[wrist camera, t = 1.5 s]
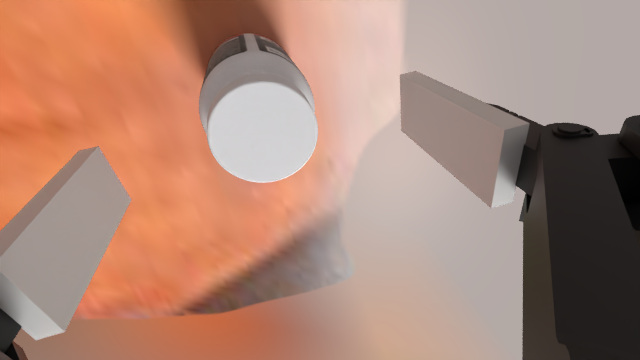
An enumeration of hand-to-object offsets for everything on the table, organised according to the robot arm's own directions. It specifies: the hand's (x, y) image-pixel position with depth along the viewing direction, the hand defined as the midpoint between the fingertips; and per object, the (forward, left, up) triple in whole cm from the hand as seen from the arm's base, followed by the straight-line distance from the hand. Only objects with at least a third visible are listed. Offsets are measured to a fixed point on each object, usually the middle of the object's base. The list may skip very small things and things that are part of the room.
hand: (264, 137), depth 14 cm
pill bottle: (0, 0, -10) cm, 10 cm away
